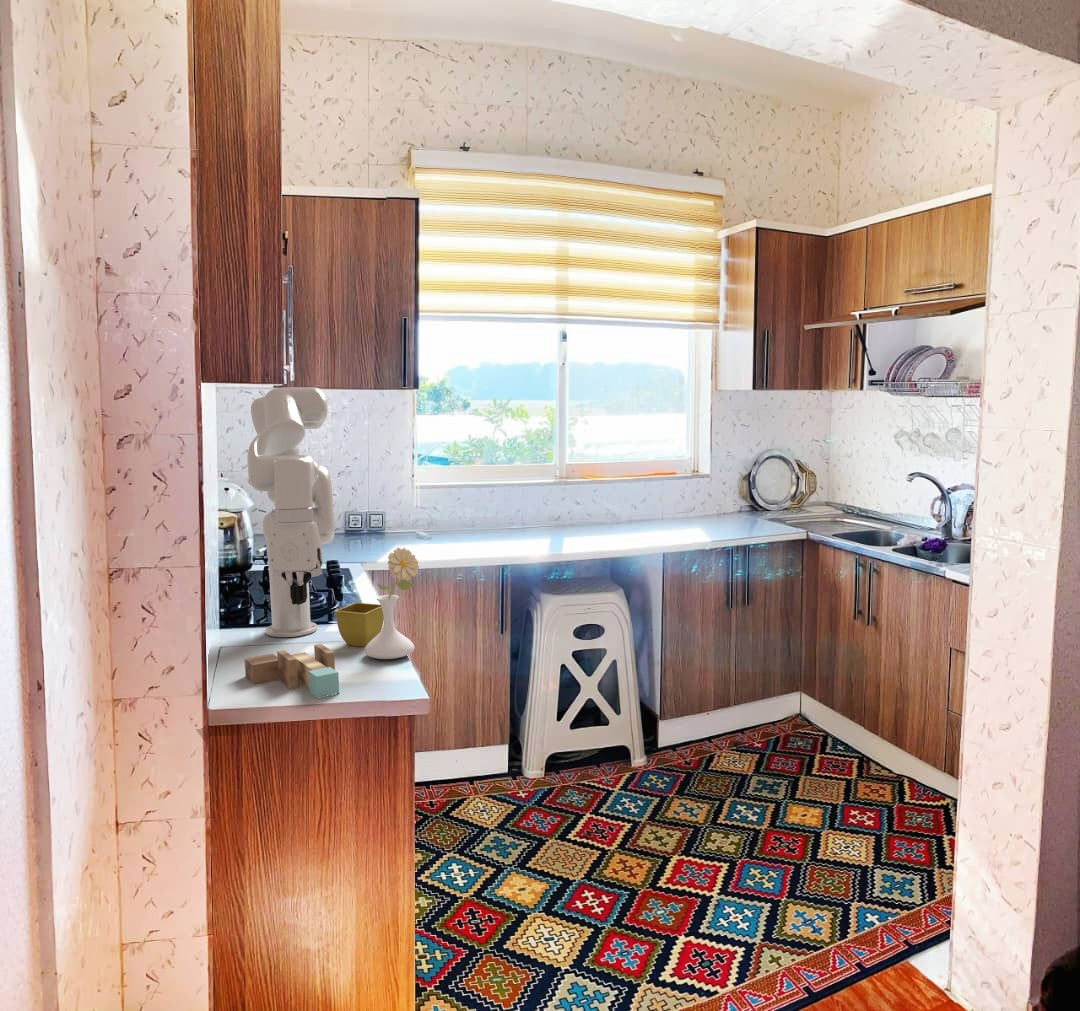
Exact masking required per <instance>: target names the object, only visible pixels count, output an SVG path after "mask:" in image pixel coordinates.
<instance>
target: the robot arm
mask: <svg viewBox="0 0 1080 1011" xmlns="http://www.w3.org/2000/svg"><path fill="white" fill-rule="evenodd" d="M250 413H251V414H250V416H251V419H252V421H251V422H252V424H253V426H254V430H255V432H256V434H257V435H256V436H255V437H254V438H253V439H252V441H251V442H250V445H249V446H248V449H247V450H248V451H247V460H246V461H247V474H248V475H247V476H248V480H249V483H250V486H251V488H253V489H254V490H256V491H259V492H267V496H268V499H269V500H270V501H271V502H272V503H274V504H275V505H274V507H275V508H274V510H271V511H270V512H268V513H267V514H265V516H264V518H263V521H262V530H263V531H262V532H263V536H264V541H265V545H266V552H267V562H268V563H267V564H268V572H269V573H268V575H269V576H268V577H269V593H270V594H269V595H270V610H271V625H269V626H267V627H266V628H265V634H266V635H267V636H269V637H275V638H294V637H300V636H301V637H302V636H305V635H306V636H307V635H309V634H312V633H314V632H316V631H317V630H318V624H317V623H315V622H312V621H311V608H310V607H311V606H310V604H311V603H310V584H309V582H310V581H311V579H312V578H314V577H319V576H321V575H323V569H322V566H323V548H322V545H325V544H329V543H331V542H332V541H333V539H335V538H334V537H335V534H336V533H335V530H336V526H335V516H334V515H335V514H334V513H335V512H334V499H333V488H332V487H333V486H332V479H331V476H330V472H329V470H328V469H327V468H326V467H325V466H323V465H318V464H317V462H315V461H314V459H313V458H312V456H309V455H306V454H305V455H304V454H300V449H299V445H301V444H302V442H303V440H304V439H305V436H306V435H305V434H306V431H305V430H313V429H314V430H316V429H320V428H321V427H322V426H323V424H324V423H325V421H326V419H327V416H328V402H327V398H326V396H325V393H324V392H323V391H322V390H321V389H320V388H317V387H314V386H313V387H312V386H311V387H310V386H308V387H307V386H306V387H305V386H302V387H301V386H298V387H297V386H294V387H293V386H292V387H291V386H289V387H288V386H287V387H285V386H284V387H276V388H273V389H270V390H269V391H268V392H267V393H266V394H265V396H261V397H258V398H256V399H254V400H253V401H252V403H251V406H250ZM313 505H314V506H313Z"/></svg>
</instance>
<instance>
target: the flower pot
mask: <svg viewBox="0 0 1080 1011" xmlns="http://www.w3.org/2000/svg"><path fill="white" fill-rule="evenodd" d="M334 612H335V618H336V619H335V620H336V623H337V629H338V632H339V634H340V636H341V638H342V639H343V641H344V642H345V644H346V645H347V646H354V647H355V646H356V647H364V648H365V647H366V646H367V644H368V643H369V642H370V641H371V640H372V639H373V638H375V637H376V636H377V635H378V634H379V633H380V632H381V631H382V629H383V625H384V618H383V611H382V607H381V604H380V603H378V604H376V603H365V602H354V603H351V604H348V605H346V606H344V607H341V608H339V609H336V610H335V611H334Z"/></svg>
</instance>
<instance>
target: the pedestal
mask: <svg viewBox="0 0 1080 1011" xmlns="http://www.w3.org/2000/svg"><path fill="white" fill-rule="evenodd" d="M244 672H245V673H244V674H245V678H246V679H248V680H249V681H250V682H251V683H252V684H253V685H254V684H259V683H264V682H266V683H267V682H269V681H270V682H271V681H276V680H279V677H278V658H277V655H276V654H274V653H269V654H268V653H267V654H263V655H257V656H250V657H245V658H244Z"/></svg>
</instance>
